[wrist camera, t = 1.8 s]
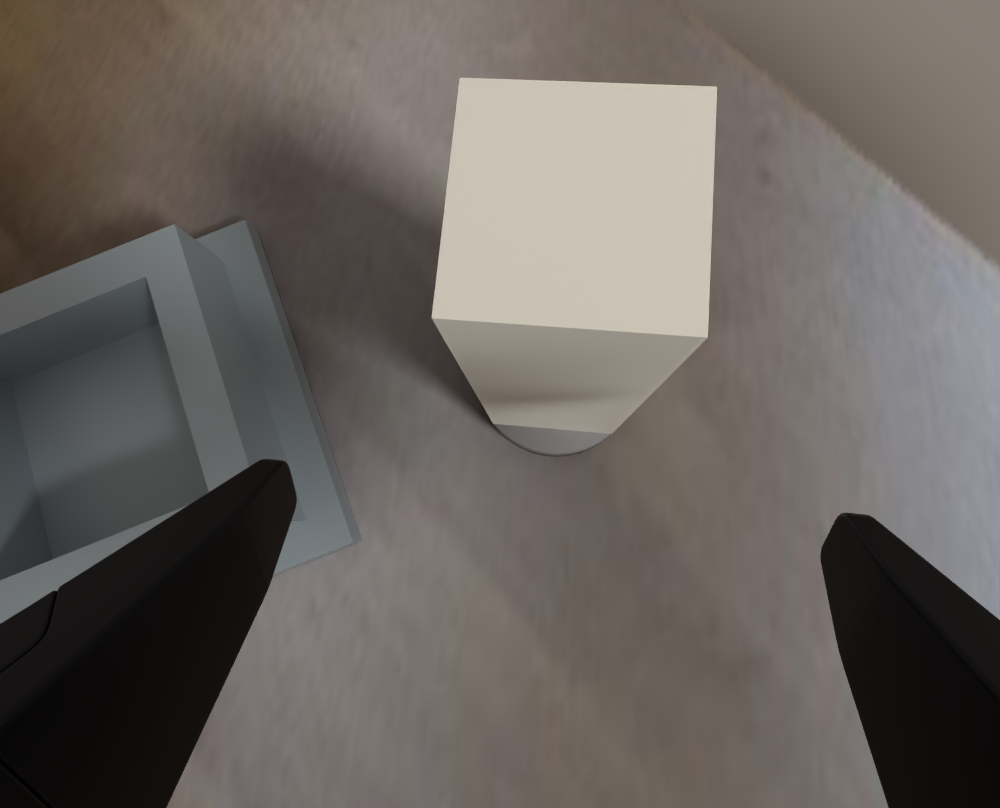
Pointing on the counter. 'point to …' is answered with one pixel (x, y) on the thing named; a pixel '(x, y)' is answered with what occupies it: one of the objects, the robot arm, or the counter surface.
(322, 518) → the housing
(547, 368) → the cream square pillar
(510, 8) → the counter surface
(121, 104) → the counter surface
